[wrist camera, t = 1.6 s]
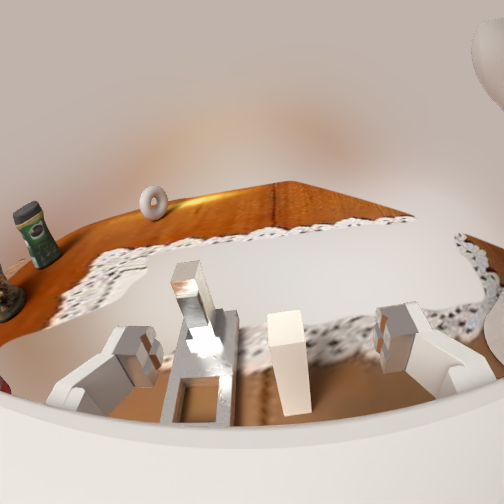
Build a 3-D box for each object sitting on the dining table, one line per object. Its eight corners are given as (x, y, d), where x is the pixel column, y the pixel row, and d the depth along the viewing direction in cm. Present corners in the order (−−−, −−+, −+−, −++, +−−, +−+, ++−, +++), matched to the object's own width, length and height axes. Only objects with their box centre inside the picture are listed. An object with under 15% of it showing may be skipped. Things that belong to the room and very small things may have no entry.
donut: (166, 210, 93) (157, 180, 88) (174, 211, 91) (165, 179, 86) (143, 226, 86) (132, 194, 81) (150, 227, 84) (139, 194, 79)
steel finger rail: (233, 443, 29) (198, 381, 23) (164, 443, 29) (112, 382, 23) (239, 320, 46) (220, 250, 40) (188, 325, 47) (162, 260, 41)
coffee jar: (56, 251, 85) (34, 198, 76) (64, 255, 80) (40, 198, 71) (33, 267, 78) (8, 213, 69) (39, 272, 74) (13, 214, 65)
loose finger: (311, 412, 30) (305, 341, 24) (284, 416, 31) (268, 346, 25) (307, 380, 34) (299, 305, 28) (282, 383, 35) (266, 310, 29)
